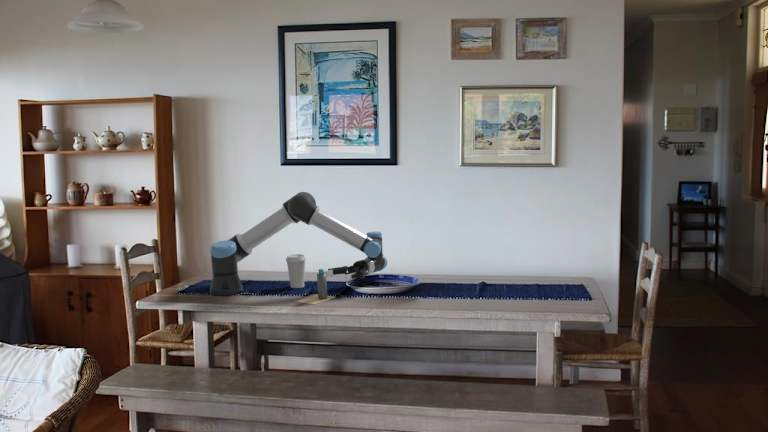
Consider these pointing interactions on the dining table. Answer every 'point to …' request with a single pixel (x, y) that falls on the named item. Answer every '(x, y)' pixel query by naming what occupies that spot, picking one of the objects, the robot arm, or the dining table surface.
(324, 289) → the grey bottle
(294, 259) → the coffee cup
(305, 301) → the notepad
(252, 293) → the dining table surface
